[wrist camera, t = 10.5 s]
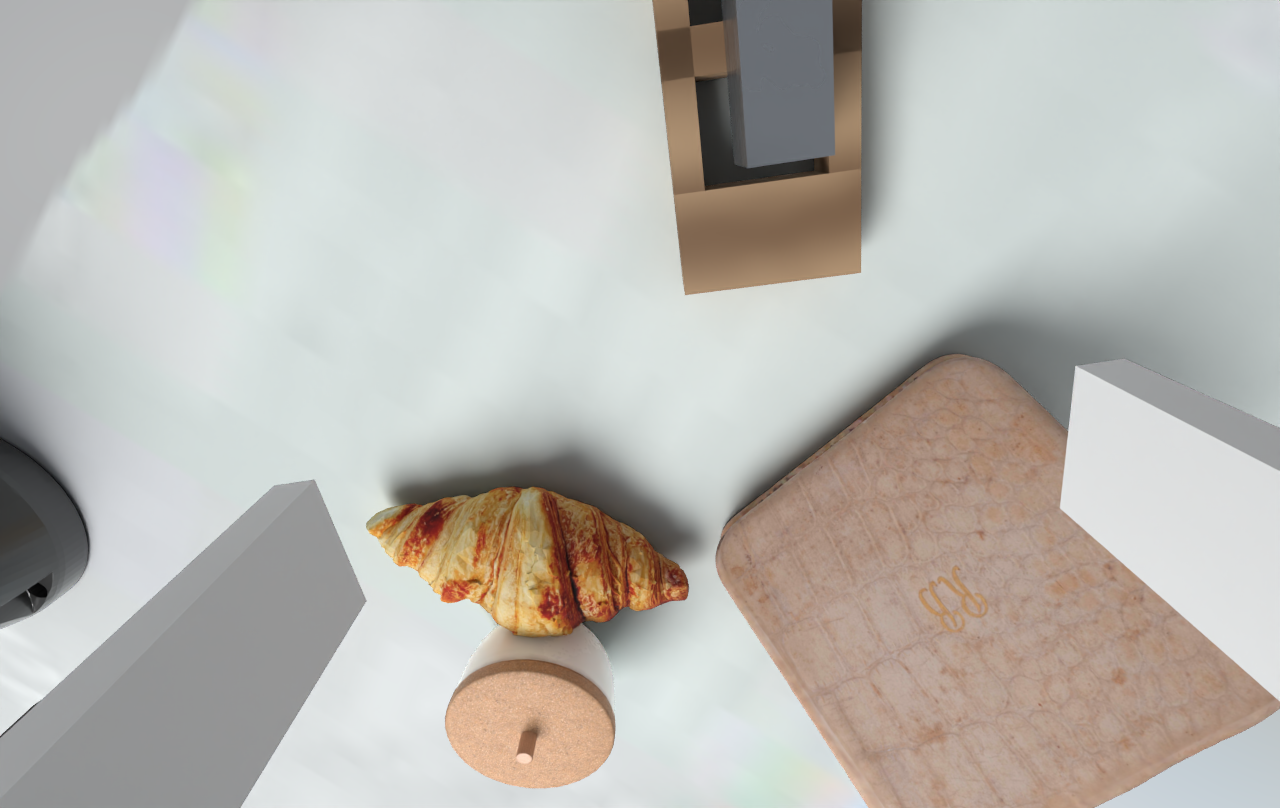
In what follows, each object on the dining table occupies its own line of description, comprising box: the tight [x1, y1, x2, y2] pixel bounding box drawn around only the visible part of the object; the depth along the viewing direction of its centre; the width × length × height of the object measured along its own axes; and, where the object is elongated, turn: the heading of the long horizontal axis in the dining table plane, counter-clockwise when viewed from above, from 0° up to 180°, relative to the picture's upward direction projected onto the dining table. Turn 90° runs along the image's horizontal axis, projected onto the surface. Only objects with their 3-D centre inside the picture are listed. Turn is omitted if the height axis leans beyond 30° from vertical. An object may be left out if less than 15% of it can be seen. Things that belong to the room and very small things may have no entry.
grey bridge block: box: [721, 0, 835, 168], centre depth 27 cm, size 10×4×8 cm, turn 8°
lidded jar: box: [445, 623, 615, 788], centre depth 41 cm, size 11×11×9 cm
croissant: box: [366, 487, 689, 637], centre depth 40 cm, size 21×10×8 cm, turn 80°
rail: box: [652, 0, 862, 295], centre depth 29 cm, size 22×9×3 cm, turn 8°
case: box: [716, 354, 1280, 808], centre depth 34 cm, size 20×21×16 cm
